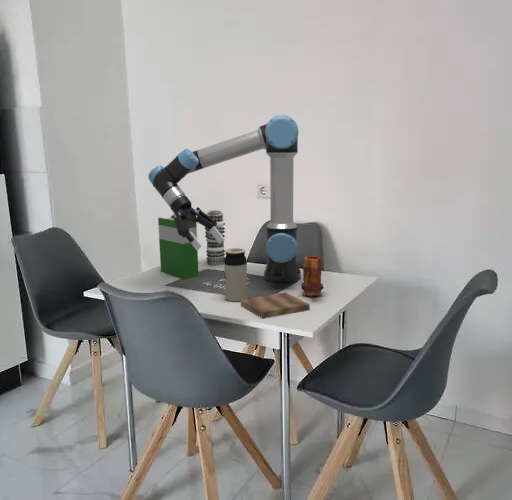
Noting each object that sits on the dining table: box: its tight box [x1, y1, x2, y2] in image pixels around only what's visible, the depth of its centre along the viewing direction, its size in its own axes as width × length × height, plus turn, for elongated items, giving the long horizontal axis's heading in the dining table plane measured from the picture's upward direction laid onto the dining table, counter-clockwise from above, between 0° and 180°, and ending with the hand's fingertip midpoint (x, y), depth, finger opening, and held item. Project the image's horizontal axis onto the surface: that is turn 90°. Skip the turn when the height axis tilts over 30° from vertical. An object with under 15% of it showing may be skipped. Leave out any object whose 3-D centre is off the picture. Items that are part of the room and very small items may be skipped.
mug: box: [300, 255, 325, 297], centre depth 195 cm, size 15×8×15 cm, turn 178°
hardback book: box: [157, 215, 199, 280], centre depth 230 cm, size 18×7×24 cm, turn 42°
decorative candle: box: [204, 209, 226, 268], centre depth 245 cm, size 9×9×25 cm
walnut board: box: [240, 292, 311, 319], centre depth 185 cm, size 18×16×2 cm
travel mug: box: [223, 247, 248, 303], centre depth 194 cm, size 8×8×18 cm
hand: (211, 244), depth 198 cm, fingers open, 13 cm apart
